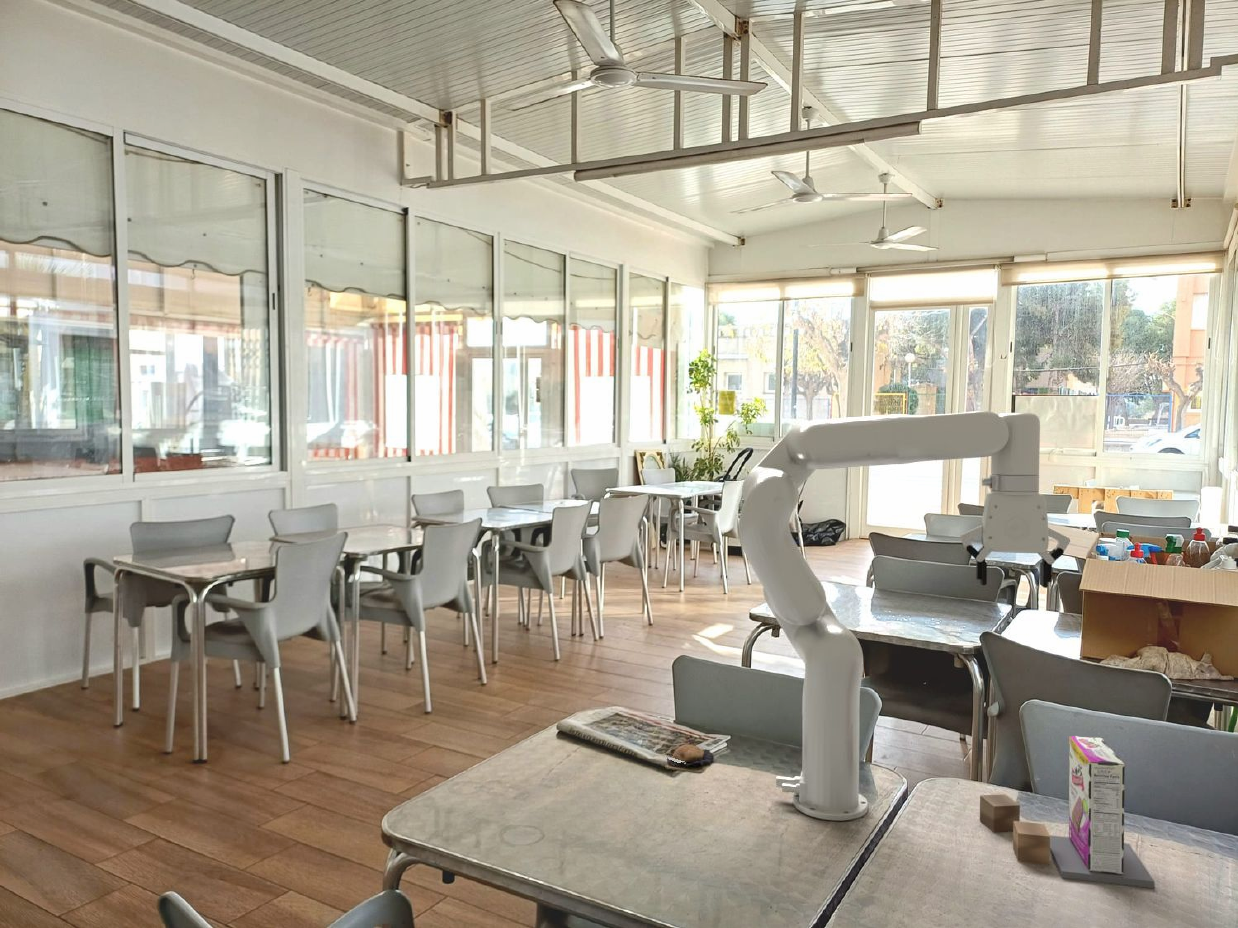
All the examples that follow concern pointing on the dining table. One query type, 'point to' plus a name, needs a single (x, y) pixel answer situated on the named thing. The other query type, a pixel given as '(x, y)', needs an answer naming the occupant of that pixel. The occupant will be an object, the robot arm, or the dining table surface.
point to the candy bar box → (1096, 804)
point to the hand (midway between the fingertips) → (1013, 585)
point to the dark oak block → (998, 812)
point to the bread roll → (690, 759)
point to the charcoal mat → (1075, 868)
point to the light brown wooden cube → (1031, 842)
